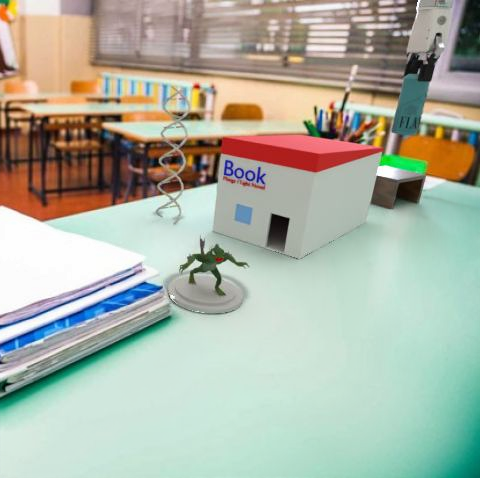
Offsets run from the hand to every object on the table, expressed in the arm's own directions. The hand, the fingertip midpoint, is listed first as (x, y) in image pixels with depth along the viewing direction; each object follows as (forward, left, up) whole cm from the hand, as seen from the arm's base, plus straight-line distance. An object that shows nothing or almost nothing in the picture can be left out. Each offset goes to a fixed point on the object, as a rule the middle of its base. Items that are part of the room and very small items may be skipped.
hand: (416, 79), depth 127 cm
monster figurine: (-21, +85, -33) cm, 93 cm away
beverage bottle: (0, 0, -15) cm, 15 cm away
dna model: (+12, +68, -33) cm, 76 cm away
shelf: (0, +1, -32) cm, 32 cm away
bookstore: (-4, +44, -33) cm, 55 cm away
